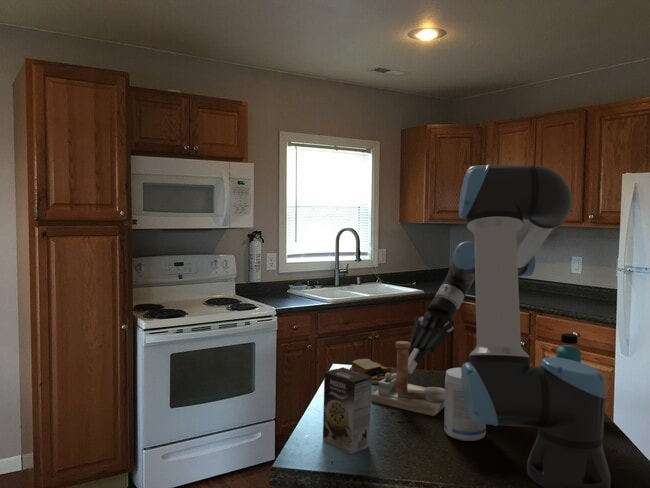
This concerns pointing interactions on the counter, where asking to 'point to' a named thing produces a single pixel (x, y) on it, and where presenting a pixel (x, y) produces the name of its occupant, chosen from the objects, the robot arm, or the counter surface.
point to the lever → (402, 378)
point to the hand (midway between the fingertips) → (407, 370)
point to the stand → (390, 397)
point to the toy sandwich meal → (371, 369)
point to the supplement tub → (459, 411)
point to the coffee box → (347, 409)
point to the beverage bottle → (569, 348)
